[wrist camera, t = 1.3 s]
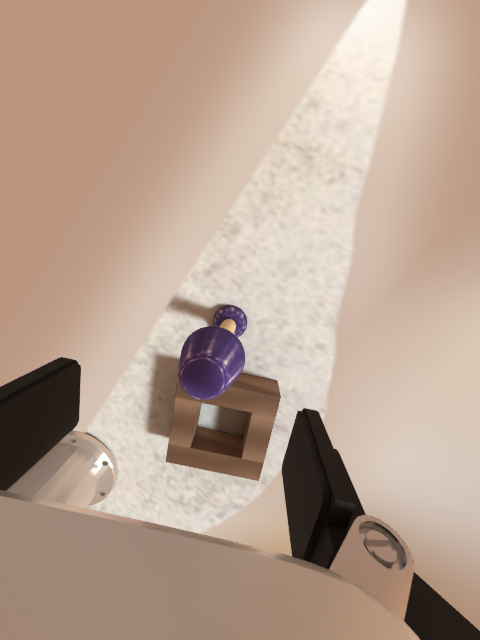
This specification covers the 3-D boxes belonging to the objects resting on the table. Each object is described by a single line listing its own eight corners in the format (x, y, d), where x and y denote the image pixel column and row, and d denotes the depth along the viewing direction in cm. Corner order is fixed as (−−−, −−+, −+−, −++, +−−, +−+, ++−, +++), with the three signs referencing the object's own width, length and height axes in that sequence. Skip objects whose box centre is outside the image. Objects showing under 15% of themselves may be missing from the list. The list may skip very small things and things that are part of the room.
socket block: (258, 456, 35) (258, 480, 31) (175, 439, 35) (165, 461, 31) (277, 380, 32) (280, 396, 28) (187, 362, 32) (178, 376, 28)
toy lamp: (203, 317, 30) (147, 378, 14) (230, 292, 30) (203, 326, 13) (229, 344, 31) (204, 432, 15) (256, 320, 30) (261, 386, 14)
